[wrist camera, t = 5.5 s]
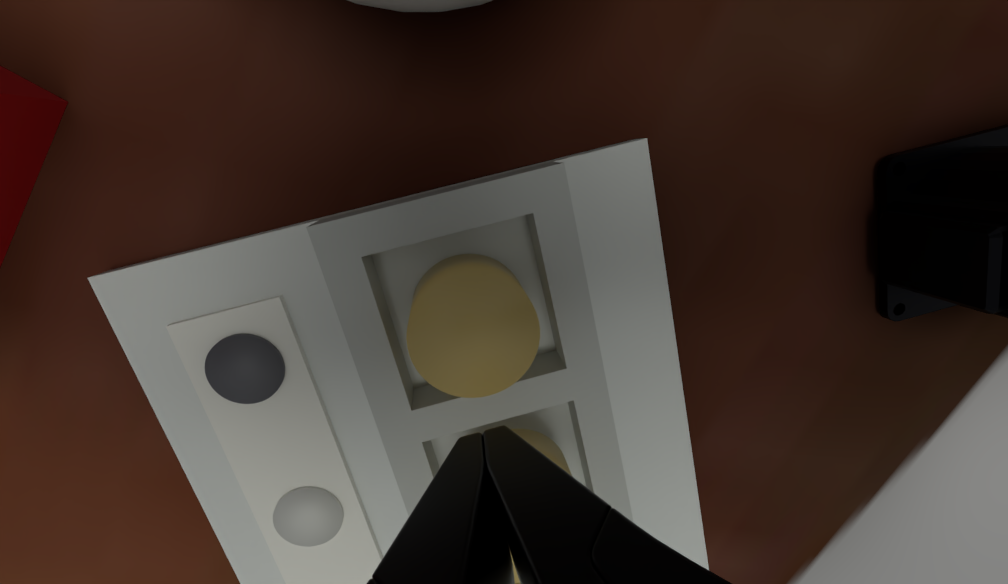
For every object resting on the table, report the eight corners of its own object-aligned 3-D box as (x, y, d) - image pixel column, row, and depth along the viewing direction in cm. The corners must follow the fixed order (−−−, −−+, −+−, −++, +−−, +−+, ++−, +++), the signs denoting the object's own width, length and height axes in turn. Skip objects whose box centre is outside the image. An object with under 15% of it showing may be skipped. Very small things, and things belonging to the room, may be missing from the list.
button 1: (511, 241, 16) (524, 257, 14) (535, 345, 17) (552, 378, 15) (397, 270, 16) (389, 292, 14) (429, 374, 17) (427, 412, 15)
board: (635, 138, 17) (668, 136, 15) (701, 582, 23) (733, 634, 20) (108, 270, 16) (48, 292, 14) (316, 698, 22) (300, 767, 20)
